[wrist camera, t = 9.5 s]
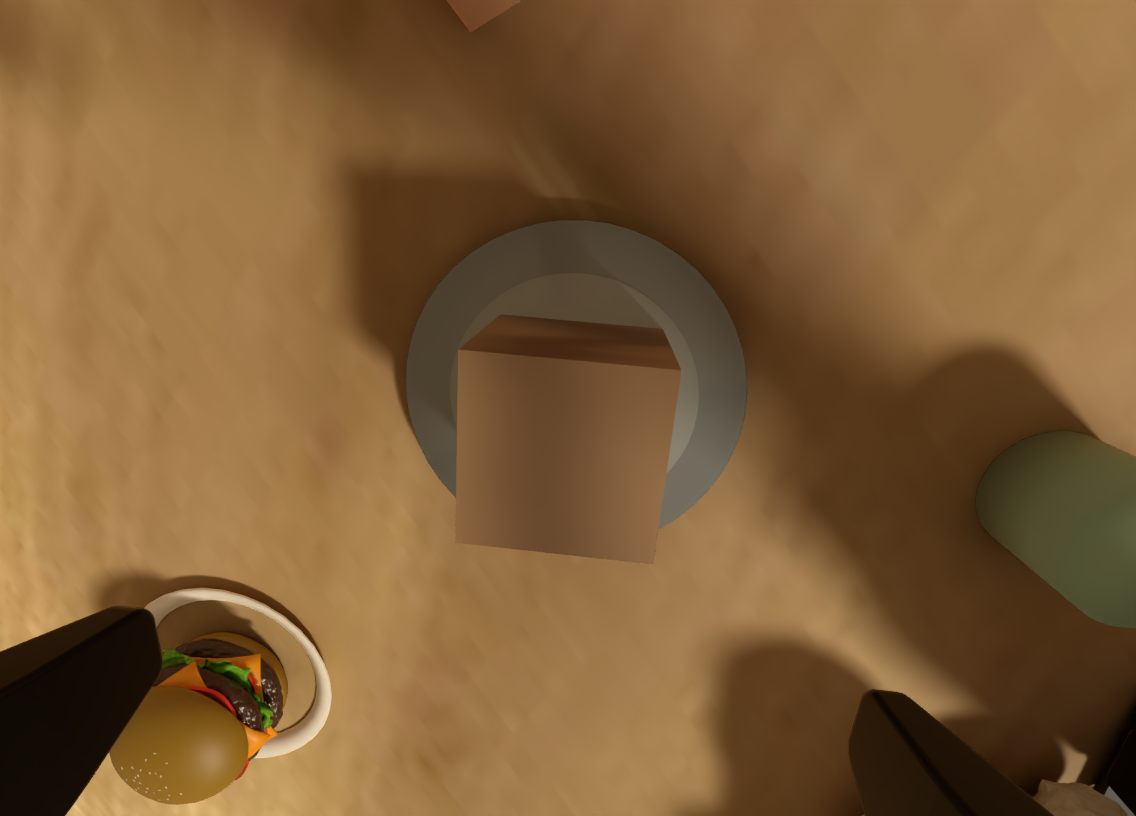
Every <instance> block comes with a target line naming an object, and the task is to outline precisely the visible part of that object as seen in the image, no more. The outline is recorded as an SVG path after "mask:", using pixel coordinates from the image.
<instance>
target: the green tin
mask: <svg viewBox="0 0 1136 816" xmlns="http://www.w3.org/2000/svg"><path fill="white" fill-rule="evenodd" d="M975 503H976V512H977V516H978V519H979V521H980V523H981V525H982V526H983V528H984V529H985V530H986V531H987V533H988V534H989V535H991V536H992V537H993V538H994V539H995V540H997V541H998V542H999V543H1000V544H1001V545H1002V546H1004V547H1005V548H1006V549H1007V550H1008V551H1010V552H1011V553H1012V554H1013V555H1014V556H1016V557H1017V558H1018V559H1019V560H1020V561H1022V562H1023V563H1024V564H1025V565H1026V566H1028V567H1029V568H1030V569H1031V570H1032V571H1034V572H1035V573H1036V574H1037V575H1038V576H1039V577H1041V578H1042V579H1043V580H1044V581H1045V582H1047V583H1048V584H1049V585H1050V586H1051V587H1053V588H1054V589H1055V590H1056V591H1057V592H1059V593H1060V594H1061V595H1062V596H1063V597H1065V598H1066V599H1067V600H1068V601H1069V602H1071V603H1072V604H1073V605H1074V606H1075V607H1076V608H1078V609H1079V610H1080V611H1081V612H1082V613H1084V614H1085V615H1086V616H1088V617H1090V618H1091V619H1093V620H1095V621H1098V622H1100V623H1103V624H1106V625H1110V626H1114V627H1121V628H1136V457H1135V456H1133V455H1131V454H1128V453H1126V452H1124V451H1122V450H1120V449H1117V448H1115V447H1113V446H1111V445H1109V444H1106V443H1104V442H1102V441H1100V440H1098V439H1095V438H1093V437H1091V436H1089V435H1086V434H1082V433H1079V432H1072V431H1052V432H1046V433H1041V434H1038V435H1034V436H1031V437H1029V438H1026V439H1024V440H1022V441H1020V442H1018V443H1016V444H1014V445H1012V446H1011V447H1010V448H1008V449H1007V450H1005V451H1004V452H1003V453H1002V454H1000V455H999V456H998V457H997V458H996V459H995V460H994V461H993V462H992V463H991V465H990V466H989V467H988V469H987V470H986V471H985V473H984V475H983V476H982V478H981V481H980V483H979V485H978V489H977V493H976V501H975Z"/></svg>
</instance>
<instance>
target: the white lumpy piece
mask: <svg viewBox="0 0 1136 816" xmlns="http://www.w3.org/2000/svg"><path fill="white" fill-rule="evenodd" d="M1032 798H1033V799H1035V800H1036V801H1037V802H1038V803H1039V804H1041V805H1042V806H1043V807H1044V808H1046V809H1047V810H1048V811H1049V812H1050V813H1052V814H1053V815H1054V816H1129V815H1128V814H1127V813H1126V812H1125V811H1124V810H1123V808H1122V807H1121V806H1120V805H1119V804H1118V803H1117V802H1115V801H1113V800H1111V799H1110V798H1108V797H1106V796H1104V795H1102V794H1100V793H1099V792H1097V791H1096V790H1094V789H1093V788H1091V787H1090V786H1088V785H1085V784H1081V783H1077V782H1075V783H1057V782H1052V781H1048V780H1044V779H1042V781H1041V782H1040V784H1039V789H1038V793H1037V794H1036V795H1035V796H1034V797H1032ZM862 816H865V815H862Z"/></svg>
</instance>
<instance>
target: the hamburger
mask: <svg viewBox="0 0 1136 816" xmlns="http://www.w3.org/2000/svg"><path fill="white" fill-rule="evenodd" d="M205 600H218V601H228V602H233V603H236V604H240V605H244V606H247V607H250V608H252V609H254V610H256V611H259V612H261V613H263V614H265V615H266V616H268V617H270V618H271V619H273V620H275V621H276V622H278V623H279V624H280V625H281V626H283V627H284V628H285V629H286V630H287V631H288V632H290V633H291V634H292V635H293V636H294V638H295V639H296V640H297V641H298V642H299V643H300V645H301V646H302V647H303V649H304V650H305V652H306V654H307V655H308V657H309V659H310V661H311V664H312V666H313V669H314V672H315V677H316V685H317V689H316V697H315V701H314V704H313V706H312V709H311V711H310V712H309V713H308V715H307V716H306V717H305V718H304V719H303V720H302V721H301V722H299V723H298V724H297V725H295V726H294V727H292V728H290V729H287V730H285V731H283V732H279V733H277V732H276V731H275V730H274V728H275V727H276V726H277V724H278V722H279V721H280V719H281V717H282V715H283V711H282V710H283V708H284V706H285V703H286V699H287V694H288V683H287V678H286V674H285V671H284V669H283V667H282V665H281V663H280V662H279V661H278V659H277V658H276V657H275V655H274V654H273V653H271V652H270V651H269V650H268V649H267V648H266V647H264V646H263V645H262V644H260V643H259V642H257V641H255V640H253V639H251V638H249V637H246V636H243V635H240V634H235V633H230V632H217V633H210V634H205V635H202V636H200V637H197V638H195V639H193V640H191V641H189V642H188V643H185V644H183V645H181V646H179V647H177V648H176V649H175V650H174V649H170V651H169V649H166V650H163V651H162V658H163V662H162V668H161V672H160V674H159V676H158V678H157V680H156V682H155V683H154V685H153V686H152V688H151V689H150V691H149V692H148V694H147V696H146V697H145V699H144V700H143V702H142V703H141V705H140V706H139V708H138V709H137V711H136V712H135V714H134V715H133V717H132V718H131V720H130V721H129V723H128V724H127V726H126V727H125V729H124V730H123V732H122V733H121V735H120V736H119V738H118V739H117V741H116V742H115V744H114V745H113V747H112V748H111V750H110V751H109V752H110V757H111V760H112V763H113V766H114V768H115V770H116V771H117V773H118V774H119V776H120V777H121V778H122V779H123V780H124V781H125V782H126V783H127V784H128V785H129V786H130V787H131V788H132V789H134V790H135V791H137V792H138V793H140V794H141V795H143V796H145V797H147V798H149V799H152V800H155V801H157V802H161V803H165V804H187V803H195V802H198V801H201V800H204V799H207V798H209V797H212V796H214V795H216V794H217V793H219V792H221V791H222V790H223V789H225V788H226V787H228V786H229V785H230V784H231V783H232V782H233V781H234V780H237V779H238V778H239V777H241V776H242V774H243V773H244V772H245V770H246V768H247V767H248V764H249V761H250V760H251V759H253V758H269V757H274V756H278V755H283V754H286V753H289V752H291V751H293V750H295V749H298V748H300V747H302V746H303V745H304V744H306V743H307V742H308V741H310V740H311V739H312V738H314V737H315V736H316V734H317V733H318V732H319V731H320V730H321V728H322V727H323V726H324V724H325V721H326V719H327V717H328V715H329V712H330V706H331V699H332V693H331V684H330V678H329V675H328V672H327V669H326V667H325V664H324V662H323V660H322V658H321V657H320V655H319V653H318V651H317V650H316V648H315V646H314V645H313V644H312V643H311V641H310V640H309V639H308V638H307V637H306V636H305V634H304V633H303V632H302V631H301V630H300V629H299V628H298V627H297V626H295V625H294V624H293V623H292V622H291V621H290V620H288V619H287V618H286V617H285V616H283V615H282V614H280V613H279V612H277V611H275V610H274V609H272V608H271V607H269V606H267V605H266V604H264V603H261V602H259V601H257V600H254V599H252V598H250V597H247V596H245V595H242V594H238V593H234V592H230V591H226V590H221V589H211V588H192V589H181V590H178V591H175V592H171V593H168V594H164V595H162V596H161V597H159V598H157V599H155V600H154V601H152V602H150V603H149V604H148V605H147V606H146V607H145V609H147V610H149V611H150V612H151V613H152V614H153V615H154V618H155V623H156V628H157V627H158V625H159V623H160V622H161V620H162V619H163V618H164V617H165V616H166V615H167V614H168V613H169V612H171V611H172V610H174V609H176V608H178V607H180V606H181V605H185V604H188V603H192V602H195V601H205Z"/></svg>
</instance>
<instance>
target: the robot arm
mask: <svg viewBox="0 0 1136 816" xmlns="http://www.w3.org/2000/svg"><path fill="white" fill-rule="evenodd" d="M162 662H163V658H162V652H161V647H160V642H159V637H158V632H157V628H156V623H155V618H154V615H153V614H152V613H151V612H150V611H149V610H147V609H145V608H137V607H128V606H114V607H110V608H107V609H105V610H102V611H100V612H97V613H95V614H92V615H90V616H87V617H85V618H82V619H80V620H77V621H75V622H73V623H70V624H68V625H65V626H63V627H60V628H58V629H55V630H53V631H50V632H48V633H45V634H43V635H40V636H38V637H35V638H33V639H30V640H28V641H25V642H23V643H20V644H18V645H16V646H13V647H11V648H8V649H6V650H3V651H1V652H0V816H65V815H66V814H67V813H68V811H69V810H70V809H71V807H72V806H73V805H74V803H75V802H76V800H77V799H78V797H79V796H80V794H81V793H82V792H83V790H84V789H85V787H86V786H87V784H88V783H89V781H90V780H91V778H92V777H93V775H94V774H95V772H96V771H97V769H98V768H99V766H100V765H101V763H102V762H103V760H104V759H105V757H106V756H107V754H108V753H109V751H110V750H111V748H112V747H113V745H114V744H115V742H116V741H117V739H118V738H119V736H120V735H121V733H122V732H123V730H124V729H125V727H126V726H127V724H128V723H129V721H130V720H131V718H132V717H133V715H134V714H135V712H136V711H137V709H138V708H139V706H140V705H141V703H142V702H143V700H144V699H145V697H146V696H147V694H148V692H149V691H150V689H151V688H152V686H153V685H154V683H155V682H156V680H157V678H158V676H159V674H160V672H161V668H162ZM849 758H850V763H851V766H852V770H853V774H854V778H855V781H856V785H857V789H858V792H859V796H860V800H861V804H862V807H863V811H864V815H865V816H1054V815H1053V814H1052V813H1050V812H1049V811H1048V810H1047V809H1046V808H1044V807H1043V806H1042V805H1041V804H1039V803H1038V802H1037V801H1036V800H1035V799H1033V798H1032V797H1031V796H1030V795H1028V794H1027V793H1026V792H1025V791H1023V790H1022V789H1021V788H1020V787H1019V786H1017V785H1016V784H1015V783H1014V782H1012V781H1011V780H1010V779H1009V778H1008V777H1006V776H1005V775H1004V774H1003V773H1001V772H1000V771H999V770H998V769H996V768H995V767H994V766H993V765H992V764H990V763H989V762H988V761H987V760H985V759H984V758H983V757H982V756H981V755H979V754H978V753H977V752H976V751H974V750H973V749H972V748H971V747H969V746H968V745H967V744H966V743H965V742H963V741H962V740H961V739H960V738H958V737H957V736H956V735H955V734H954V733H952V732H951V731H950V730H949V729H947V728H946V727H945V726H944V725H942V724H941V723H940V722H939V721H938V720H936V719H935V718H934V717H933V716H931V715H930V714H929V713H928V712H927V711H925V710H924V709H923V708H922V707H920V706H919V705H918V704H917V703H915V702H914V701H913V700H912V699H911V698H909V697H908V696H906V695H905V694H903V693H899V692H893V691H884V690H875V689H871V690H868V691H866V692H865V693H864V694H863V696H862V699H861V702H860V705H859V708H858V711H857V715H856V718H855V721H854V724H853V728H852V731H851V734H850V738H849ZM1094 790H1096V791H1097V792H1099V793H1100V794H1102V795H1104V796H1106V797H1108V798H1110V799H1111V800H1113V801H1115V802H1117V803H1118V804H1119V805H1120V806H1121V807H1122V808H1123V810H1124V811H1125V812H1126V813H1127V814H1128V815H1129V816H1136V708H1135V710H1134V712H1133V714H1132V716H1131V718H1130V720H1129V722H1128V724H1127V726H1126V728H1125V730H1124V732H1123V734H1122V736H1121V738H1120V740H1119V742H1118V743H1117V745H1116V747H1115V749H1114V751H1113V753H1112V755H1111V757H1110V759H1109V761H1108V763H1107V765H1106V767H1105V769H1104V771H1103V773H1102V775H1101V777H1100V779H1099V780H1098V782H1097V784H1096V786H1095V788H1094Z"/></svg>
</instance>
